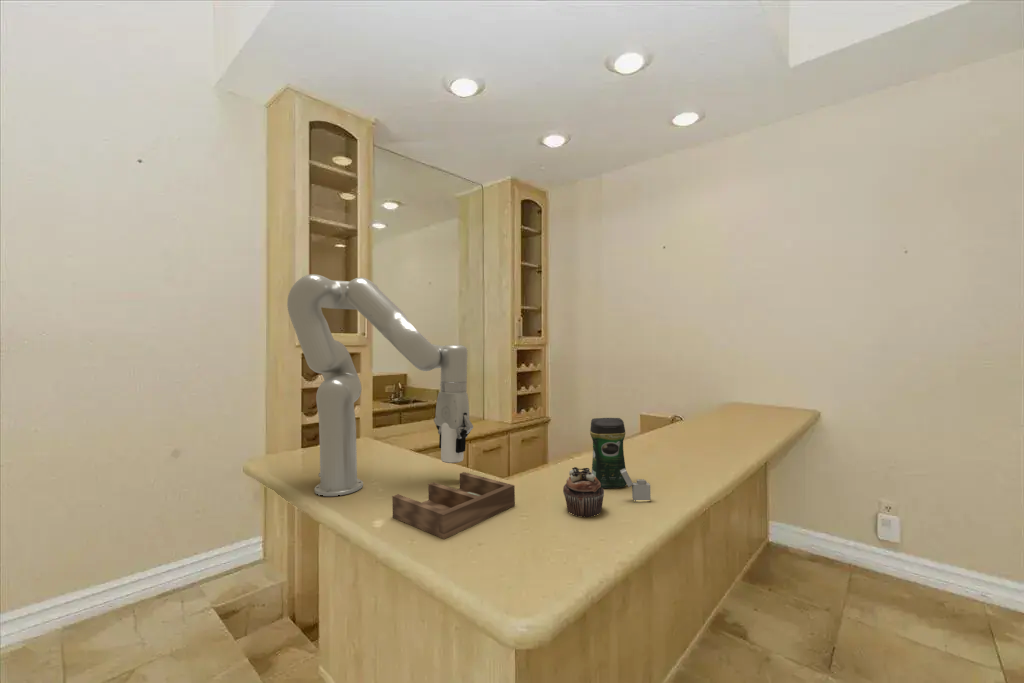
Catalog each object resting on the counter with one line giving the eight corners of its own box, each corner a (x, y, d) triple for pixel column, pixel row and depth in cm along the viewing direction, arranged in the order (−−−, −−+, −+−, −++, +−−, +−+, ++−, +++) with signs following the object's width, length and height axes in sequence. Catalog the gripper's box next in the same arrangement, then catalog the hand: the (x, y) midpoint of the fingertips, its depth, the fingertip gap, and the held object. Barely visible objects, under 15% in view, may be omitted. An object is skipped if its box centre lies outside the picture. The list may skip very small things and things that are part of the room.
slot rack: (392, 517, 101) (392, 496, 101) (464, 490, 119) (463, 472, 119) (444, 539, 90) (443, 514, 90) (514, 505, 107) (514, 485, 107)
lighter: (648, 499, 109) (648, 467, 109) (650, 502, 108) (650, 469, 107) (620, 499, 110) (619, 468, 110) (621, 502, 108) (621, 470, 108)
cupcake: (610, 517, 99) (609, 473, 99) (568, 520, 98) (567, 475, 98) (598, 502, 108) (597, 462, 108) (560, 504, 108) (559, 463, 107)
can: (465, 458, 129) (466, 417, 129) (460, 464, 122) (461, 421, 122) (443, 456, 129) (444, 416, 129) (438, 462, 123) (439, 420, 123)
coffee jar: (623, 479, 125) (621, 415, 125) (629, 489, 117) (628, 420, 117) (589, 480, 125) (587, 415, 125) (593, 489, 117) (592, 420, 117)
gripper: (424, 386, 128) (422, 446, 128) (464, 391, 117) (463, 457, 117) (443, 384, 134) (442, 442, 134) (484, 389, 123) (482, 452, 123)
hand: (452, 449), depth 126 cm, fingers closed on can, 6 cm apart
